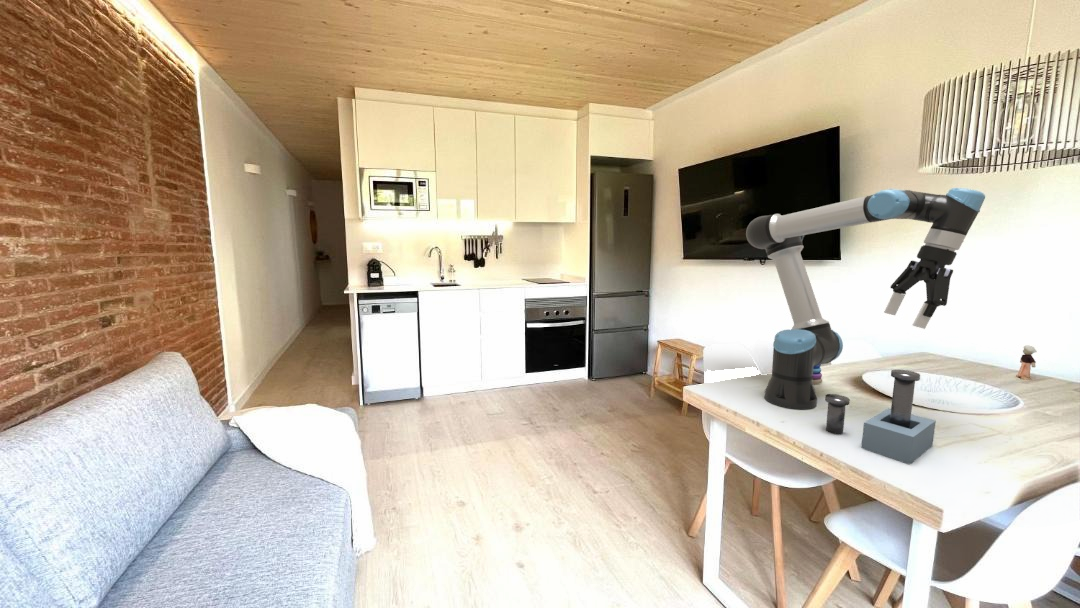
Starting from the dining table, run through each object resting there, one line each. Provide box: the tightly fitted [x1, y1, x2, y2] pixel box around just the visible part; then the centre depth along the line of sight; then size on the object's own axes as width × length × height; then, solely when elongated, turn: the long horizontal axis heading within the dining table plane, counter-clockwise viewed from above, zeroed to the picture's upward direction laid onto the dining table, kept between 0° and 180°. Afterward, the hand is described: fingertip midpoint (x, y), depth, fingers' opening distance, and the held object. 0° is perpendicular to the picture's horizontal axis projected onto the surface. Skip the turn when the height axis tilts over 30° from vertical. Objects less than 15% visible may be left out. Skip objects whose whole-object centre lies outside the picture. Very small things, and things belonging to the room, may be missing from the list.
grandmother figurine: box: [1015, 344, 1037, 381], centre depth 160 cm, size 8×4×13 cm, turn 169°
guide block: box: [861, 407, 937, 465], centre depth 111 cm, size 16×10×7 cm, turn 123°
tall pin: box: [890, 369, 921, 428], centre depth 110 cm, size 6×6×20 cm
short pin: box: [824, 393, 851, 435], centre depth 120 cm, size 6×6×10 cm
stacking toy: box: [812, 364, 823, 385], centre depth 160 cm, size 8×8×19 cm
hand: (903, 320), depth 122 cm, fingers open, 13 cm apart
